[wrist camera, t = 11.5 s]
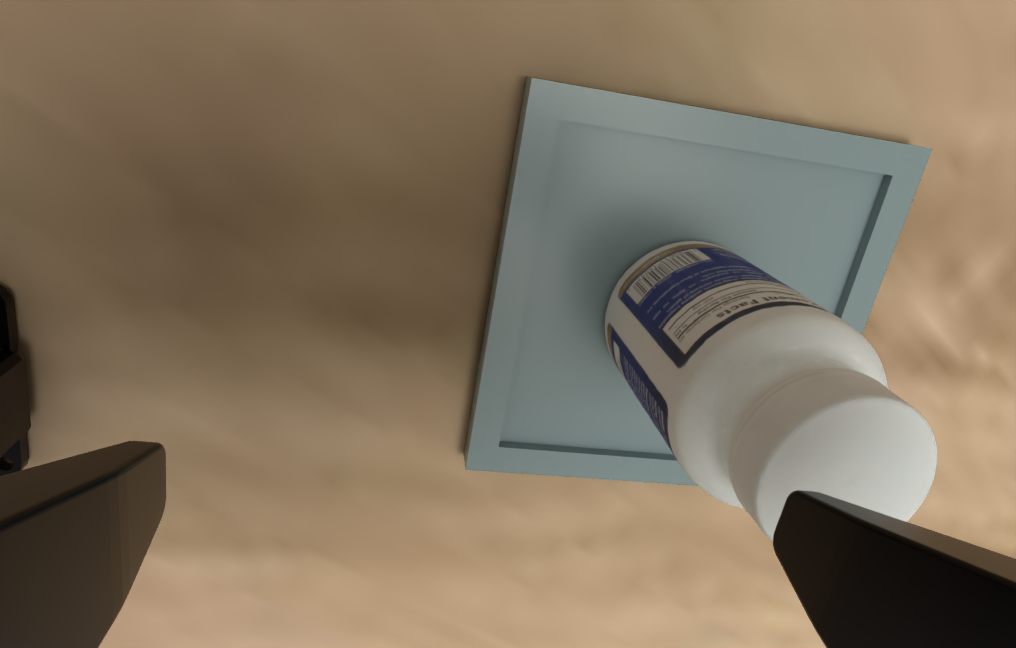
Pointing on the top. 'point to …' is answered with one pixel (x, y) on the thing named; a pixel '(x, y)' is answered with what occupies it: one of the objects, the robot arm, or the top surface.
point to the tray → (642, 229)
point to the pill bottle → (763, 387)
